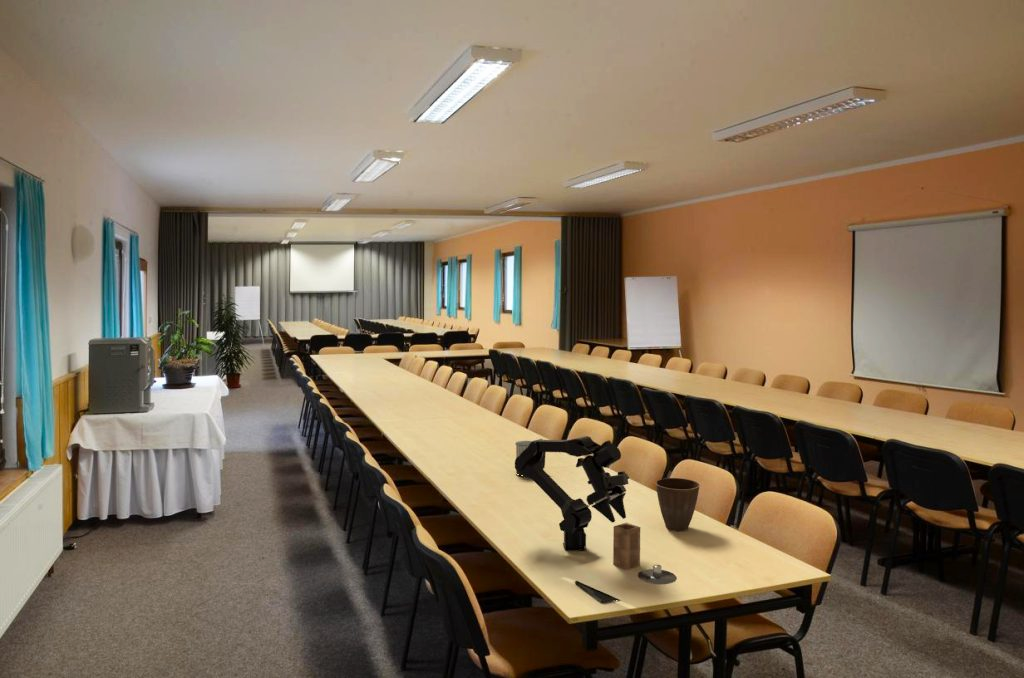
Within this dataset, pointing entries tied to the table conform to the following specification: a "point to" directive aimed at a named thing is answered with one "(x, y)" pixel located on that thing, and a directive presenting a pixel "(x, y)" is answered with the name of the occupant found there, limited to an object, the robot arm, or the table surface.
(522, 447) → the milk frother
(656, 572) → the peg stand
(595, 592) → the phone
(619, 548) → the walnut sleeve
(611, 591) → the table surface
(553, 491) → the robot arm
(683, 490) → the plant pot
